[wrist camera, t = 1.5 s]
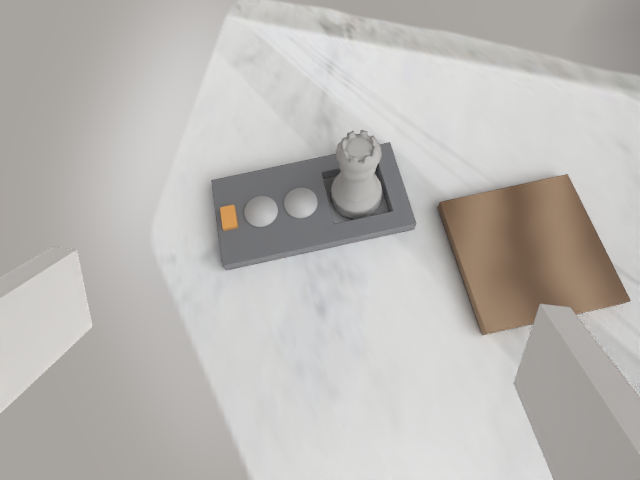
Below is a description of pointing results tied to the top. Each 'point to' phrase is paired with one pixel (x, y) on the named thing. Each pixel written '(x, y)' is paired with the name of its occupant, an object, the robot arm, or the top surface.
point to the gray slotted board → (298, 211)
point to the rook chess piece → (357, 176)
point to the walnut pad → (529, 253)
